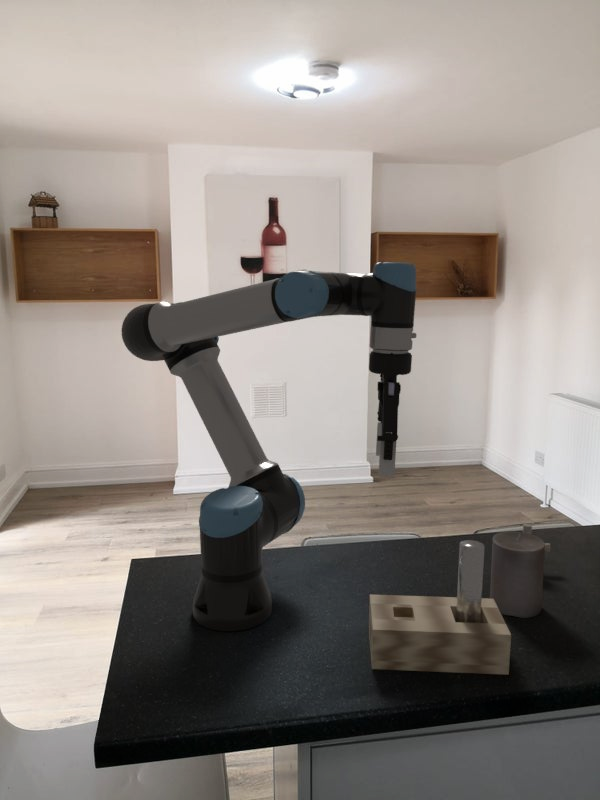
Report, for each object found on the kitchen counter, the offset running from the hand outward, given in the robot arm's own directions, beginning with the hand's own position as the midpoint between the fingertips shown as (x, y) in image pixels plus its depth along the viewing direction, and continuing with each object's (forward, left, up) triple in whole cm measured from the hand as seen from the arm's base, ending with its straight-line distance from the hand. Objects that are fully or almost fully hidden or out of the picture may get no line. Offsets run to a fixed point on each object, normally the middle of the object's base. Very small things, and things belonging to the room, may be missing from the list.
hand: (384, 465), depth 116 cm
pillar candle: (+26, +5, -30) cm, 40 cm away
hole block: (+8, -12, -29) cm, 33 cm away
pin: (+14, -12, -28) cm, 33 cm away
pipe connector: (+33, +23, -30) cm, 50 cm away
